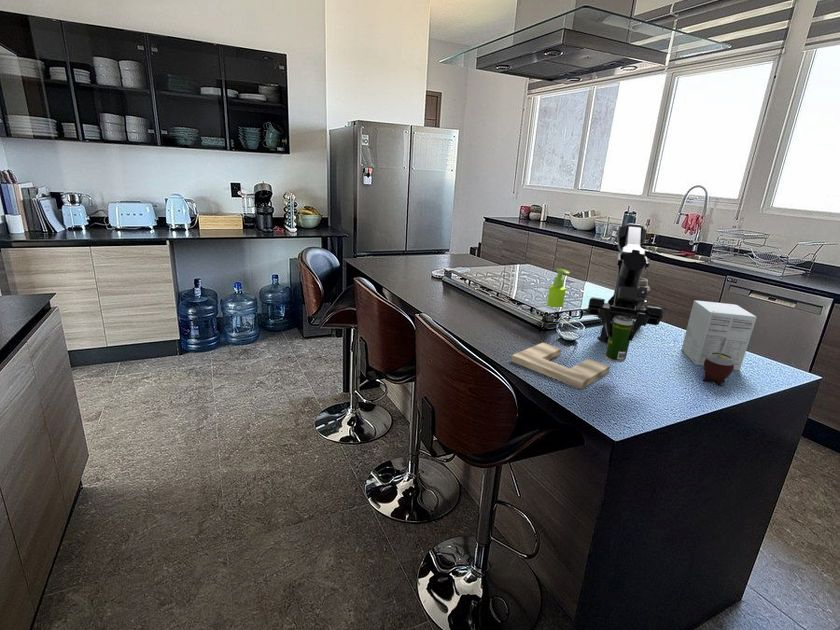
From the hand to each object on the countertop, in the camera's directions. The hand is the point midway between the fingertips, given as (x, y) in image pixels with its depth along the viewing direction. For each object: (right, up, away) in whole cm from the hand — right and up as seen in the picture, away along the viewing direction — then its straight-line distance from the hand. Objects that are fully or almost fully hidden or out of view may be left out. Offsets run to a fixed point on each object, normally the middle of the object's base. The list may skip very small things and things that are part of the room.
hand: (619, 338), depth 124 cm
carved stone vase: (+25, +3, +52) cm, 58 cm away
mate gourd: (+30, -13, +7) cm, 33 cm away
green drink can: (0, -6, +3) cm, 7 cm away
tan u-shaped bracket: (-13, -9, +10) cm, 19 cm away
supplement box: (+39, -8, +23) cm, 46 cm away
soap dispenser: (-3, +4, +50) cm, 51 cm away
